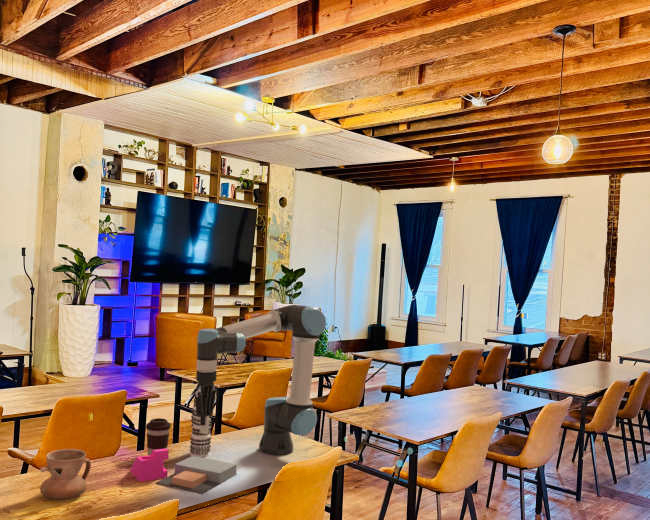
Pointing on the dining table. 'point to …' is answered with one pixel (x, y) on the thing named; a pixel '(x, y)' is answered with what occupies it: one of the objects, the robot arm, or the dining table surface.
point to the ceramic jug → (65, 474)
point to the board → (207, 468)
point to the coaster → (189, 479)
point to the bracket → (150, 465)
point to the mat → (199, 489)
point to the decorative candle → (199, 436)
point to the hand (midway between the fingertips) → (204, 433)
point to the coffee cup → (157, 434)
